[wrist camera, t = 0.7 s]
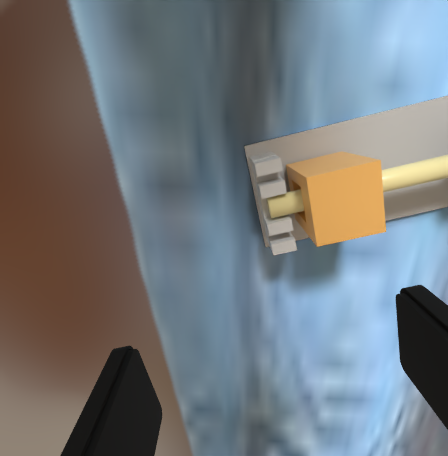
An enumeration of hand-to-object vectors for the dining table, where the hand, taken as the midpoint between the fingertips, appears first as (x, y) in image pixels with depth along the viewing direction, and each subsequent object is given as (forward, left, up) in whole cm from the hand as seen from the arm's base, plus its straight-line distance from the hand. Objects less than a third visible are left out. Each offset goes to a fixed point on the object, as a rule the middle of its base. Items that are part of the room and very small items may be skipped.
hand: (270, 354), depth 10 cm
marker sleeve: (0, +7, -20) cm, 22 cm away
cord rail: (0, +12, -20) cm, 24 cm away
